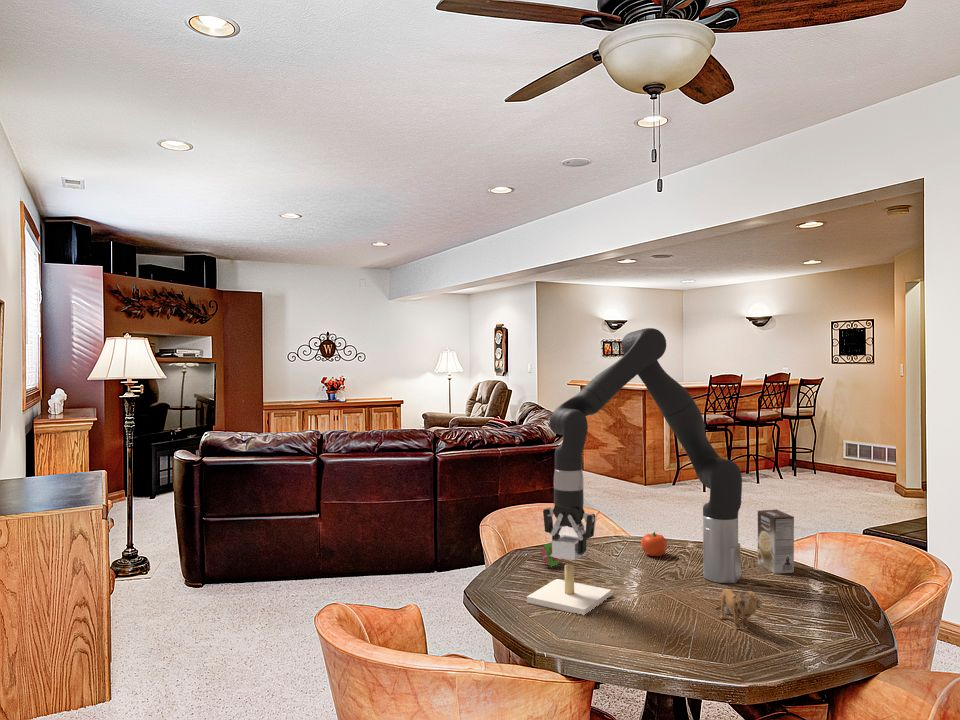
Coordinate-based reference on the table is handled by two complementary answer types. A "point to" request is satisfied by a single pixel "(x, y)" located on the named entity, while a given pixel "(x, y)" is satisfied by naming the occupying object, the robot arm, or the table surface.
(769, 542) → the coffee box
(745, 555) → the table surface
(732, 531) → the robot arm
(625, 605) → the table surface
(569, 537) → the steel collar
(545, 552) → the geometric puzzle
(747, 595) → the lion figurine
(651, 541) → the tomato
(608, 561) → the table surface
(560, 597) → the post board
